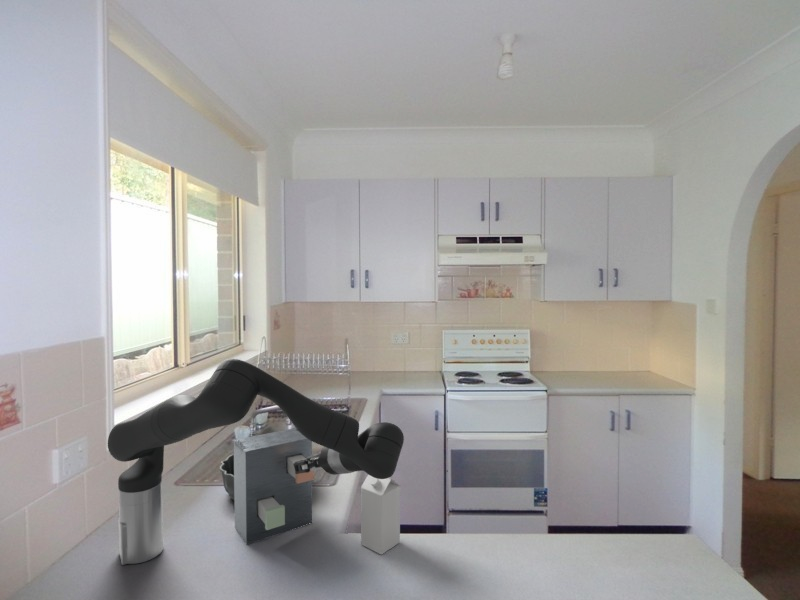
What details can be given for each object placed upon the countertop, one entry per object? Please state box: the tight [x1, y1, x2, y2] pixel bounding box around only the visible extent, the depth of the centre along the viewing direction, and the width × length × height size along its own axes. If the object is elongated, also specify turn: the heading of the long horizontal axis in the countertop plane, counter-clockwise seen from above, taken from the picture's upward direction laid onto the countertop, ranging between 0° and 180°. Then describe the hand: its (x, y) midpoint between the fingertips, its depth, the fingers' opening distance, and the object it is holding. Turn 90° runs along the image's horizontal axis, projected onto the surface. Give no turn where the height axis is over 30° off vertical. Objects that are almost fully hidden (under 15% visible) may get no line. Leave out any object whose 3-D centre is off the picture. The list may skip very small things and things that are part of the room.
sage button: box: [257, 496, 285, 530], centre depth 120 cm, size 5×9×5 cm, turn 36°
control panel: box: [233, 427, 313, 545], centre depth 128 cm, size 18×10×24 cm, turn 126°
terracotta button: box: [286, 454, 315, 484], centre depth 124 cm, size 5×9×5 cm, turn 36°
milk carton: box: [360, 474, 401, 555], centre depth 120 cm, size 7×7×19 cm
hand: (312, 460), depth 118 cm, fingers open, 8 cm apart
